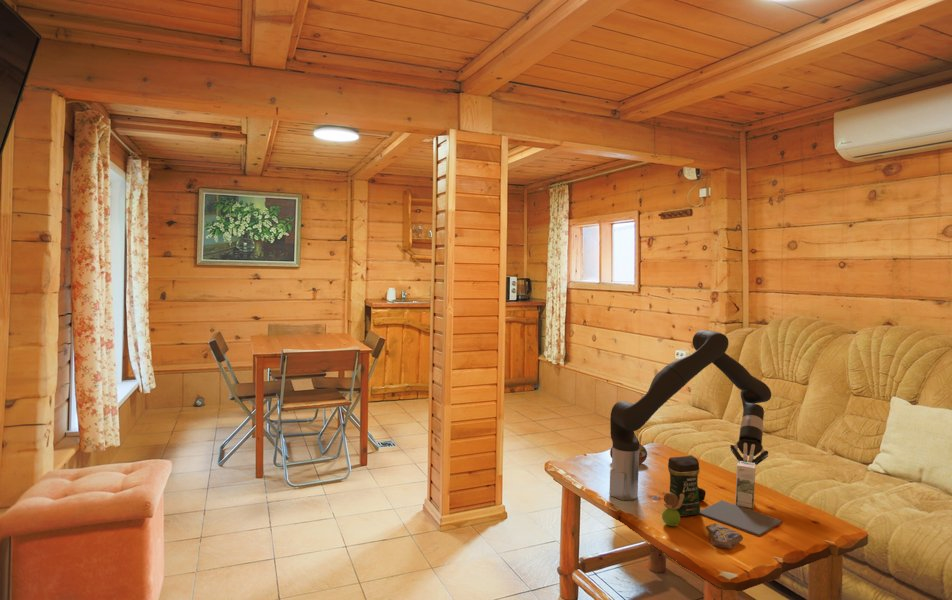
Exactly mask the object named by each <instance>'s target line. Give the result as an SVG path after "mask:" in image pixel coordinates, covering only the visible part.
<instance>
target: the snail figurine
mask: <svg viewBox="0 0 952 600" xmlns="http://www.w3.org/2000/svg"><path fill="white" fill-rule="evenodd" d="M684 492H685V490H683V494H680V499H679V500H678V497H677V496H676V495H675V494H673V493H669V492H666V493H665V494H664V496H663V501H664V503H663V506H664V507H665V509H664V510H663V511H662V513H661V518H662V522H663V523H664V524H665V525H667V526H669V527H675V526H677V525H679V524H680V521H681V516H680V514H679V512H678V511H677V510H676V509H679V508H680V507H681V505H682V502H683V499H684Z"/></svg>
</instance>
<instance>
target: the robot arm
mask: <svg viewBox="0 0 952 600" xmlns="http://www.w3.org/2000/svg"><path fill="white" fill-rule="evenodd" d="M729 344H730V343H729V338H728V337H727V335H726V334H724V333H721V332H719V331H713V330H708V329H702V330H698V331H696V332H695V334H694V335H693V336H692V345H693V349H694V350H695V351H694V352H692V353H691V354H689V355H687V356H684V357H682V358H679V359H677V360H674V361H672V362H670V363H669V364H667V365H665V366H664V367H663V368H662V369H660V371H659V372H657V373H656V374H655V376H654V377H653V378H652V381H651V384H650V386H649V387H648V388H649V389H648V390H647V392H646V393H645V394H644V396H642V397H640V399H639V400H638V401H636V402H635V403H632V402H628V401H627V400H621V401H617V402H615V404H614V405H613V407H612V408H611V410H610V411H611V412H610V417H609V418H610V419H609V420H610V421H609V422H610V425H609V426H610V439H611V441H612V446H613V448H612V447H611V448H612V458H611V469H610V470H609V496H611V497H613V498H616V499H618V500H621V501H623V502H624V501H632V500H636V499H638V497H639V496H638V495H639V493H638V492H639V471H640V469H639V468H640V467H639V465H640V464H639V446H640V445H641V444H640V441H639V439H638V437H637V436H636V434H635V432H636V431H638V430H640V429H641V428H642V427H644V426H645V424H646V423H647V422H649V420H650V419H651V418H652V416H653V415H654V414H655V413H657V411H658V410H659V409H660V408H661V407H662V406H663V405H665V403H666V402H668V400H670V399H671V398H672V397H673V396H674V395H676V394H677V393H678V392H679V391H680V390H681V389H682V388H684V387H685V386H686V385H687V384H688V383H689V382H690V381H691V380H692V379H693V378H695V377H696V376H697V375H698V374H699V373H701V371H703V370H704V369H705V368H706V367H708V366H710V365H711V364H713V366H716V368H718V369H719V370H720V371H721V372H722V373H723V374H724V376H725V377H727V378H728V380H729V381H730V382H731V383H732V384H733V385H734V386H735V387H736V388H737V389H739V390H740V397H741V403H742V409H743V411H742V420H741V422H740V429H739V435H738V441H737V442H736V444H734V445H733V444H730V452H731V453H732V454H733V455H734V457H735V458H736V460H737V461H743V462H750V463H755V466H758V465H759V464H760V463H762V462H763V461H764V460H766V459H767V458H768V457H769V451H768V450H765V449H764V447H763V436H764V418H765V417H764V416H765V409H764V407H762V405H760V404H762V403H767V402H768V401H770V400H771V398H772V391H771V388H770V387H769V386H768V385H767V384H766V383H765V382H764V381H762V380H760V379H758V378H757V377H755V376H753V375H752V374H751V373H750V372H749V371H748V369H747V368H745V366H743V365H742V364H741V363H740V362H738V361H737V360H736V359H735V358H733V357H731V356H730V355H728V354H727V353H726V351H727V350H728V347H729ZM738 450H739V451H740V452H739V451H738ZM740 453H741V454H742V455H743V456H742V455H741V454H740ZM756 456H757V457H756Z"/></svg>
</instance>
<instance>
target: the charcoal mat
mask: <svg viewBox="0 0 952 600" xmlns="http://www.w3.org/2000/svg"><path fill="white" fill-rule="evenodd" d="M698 515H701V516H703V517H705V518H708V519H711V520H714V521H716V522H718V523H719V522H720V523H722V524H725V525H727V526H730V527H733V528H736V529H738V530H740V531H741V530H742V531H744V532H747V533H749V534H751V535H754V536H758V537H761V536H762V535H764V534H766V533H767V532H769V531H770V530H772V529H773V528H775V527H777V526H778V525H780V524H782V522H783V520H782V519H780V518H775V517H773V516H770V515H767V514H764V513H760V512H758V511H755V510H753V509H752V510H751V509H750V508H745V507H740V506H737V505H735V504H734V503H732V502H729V501H725V500H722V499H721V500H719V501H716V502H715V503H713V504H711V505H708V506H707V507H705V508H703V509H700V512H699V514H698Z"/></svg>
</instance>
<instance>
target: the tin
mask: <svg viewBox="0 0 952 600" xmlns="http://www.w3.org/2000/svg"><path fill="white" fill-rule="evenodd" d="M612 448H613V445H612V446H611V448H610V450H609V452H610V453H609V455H610V458H611V459H612ZM647 457H648V451H647V448H646V447H645V446H643V444H640V446H639V465H641V464H643V463H644V462H645V461H646V460H647Z"/></svg>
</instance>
